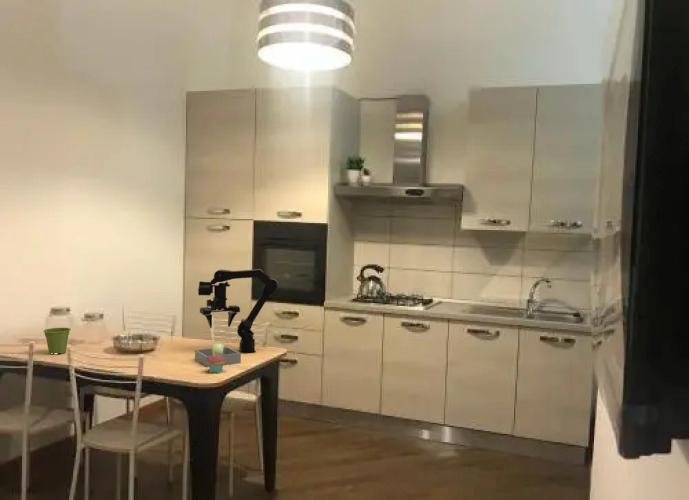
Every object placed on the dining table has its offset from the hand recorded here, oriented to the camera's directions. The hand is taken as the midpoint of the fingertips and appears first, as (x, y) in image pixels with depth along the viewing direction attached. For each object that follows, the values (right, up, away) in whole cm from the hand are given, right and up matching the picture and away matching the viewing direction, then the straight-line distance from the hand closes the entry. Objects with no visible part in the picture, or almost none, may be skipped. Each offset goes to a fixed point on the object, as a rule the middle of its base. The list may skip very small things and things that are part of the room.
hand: (219, 327), depth 304 cm
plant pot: (-75, -11, -9) cm, 77 cm away
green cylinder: (+3, -12, -20) cm, 23 cm away
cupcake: (+6, -14, -38) cm, 41 cm away
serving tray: (+3, -13, -20) cm, 24 cm away
